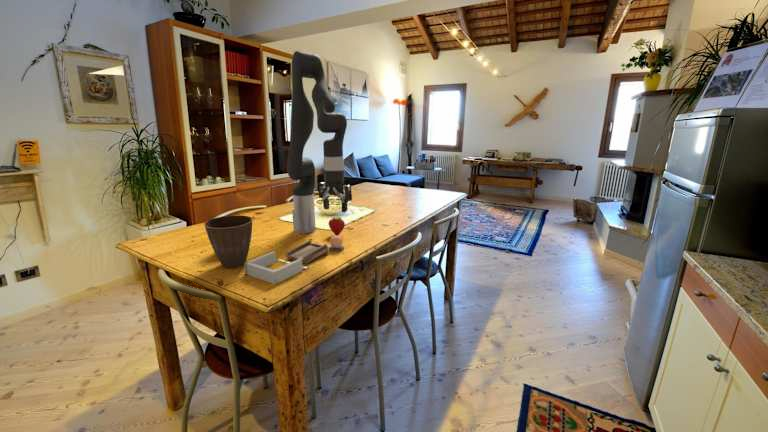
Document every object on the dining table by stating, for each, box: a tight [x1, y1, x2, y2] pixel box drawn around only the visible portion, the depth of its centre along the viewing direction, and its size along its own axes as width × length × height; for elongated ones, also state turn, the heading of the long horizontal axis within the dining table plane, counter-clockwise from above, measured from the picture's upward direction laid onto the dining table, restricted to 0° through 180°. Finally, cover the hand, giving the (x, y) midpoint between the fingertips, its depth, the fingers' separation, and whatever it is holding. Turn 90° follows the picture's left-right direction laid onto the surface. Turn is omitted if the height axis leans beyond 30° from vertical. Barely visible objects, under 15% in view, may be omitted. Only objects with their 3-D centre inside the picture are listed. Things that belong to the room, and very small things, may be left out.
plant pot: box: [203, 214, 253, 269], centre depth 117 cm, size 15×15×16 cm
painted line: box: [277, 258, 309, 270], centre depth 120 cm, size 14×1×1 cm, turn 59°
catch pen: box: [243, 251, 304, 285], centre depth 112 cm, size 14×12×4 cm
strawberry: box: [328, 214, 346, 236], centre depth 149 cm, size 6×8×10 cm
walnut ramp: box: [285, 239, 329, 265], centre depth 126 cm, size 10×12×4 cm
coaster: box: [328, 245, 345, 253], centre depth 134 cm, size 6×6×1 cm
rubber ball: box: [329, 235, 343, 248], centre depth 133 cm, size 5×5×5 cm
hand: (335, 210), depth 130 cm, fingers open, 8 cm apart
